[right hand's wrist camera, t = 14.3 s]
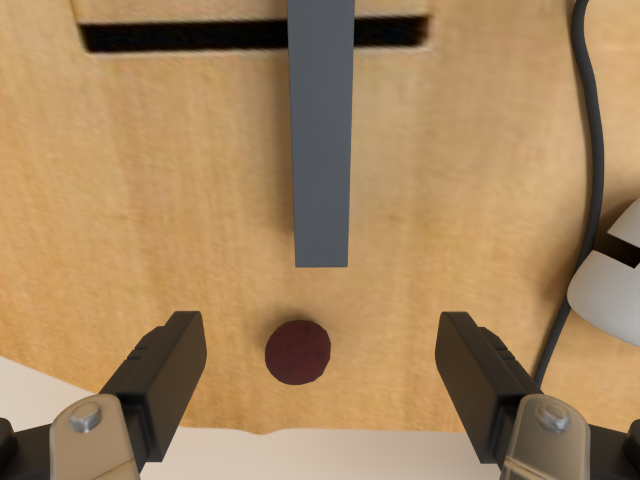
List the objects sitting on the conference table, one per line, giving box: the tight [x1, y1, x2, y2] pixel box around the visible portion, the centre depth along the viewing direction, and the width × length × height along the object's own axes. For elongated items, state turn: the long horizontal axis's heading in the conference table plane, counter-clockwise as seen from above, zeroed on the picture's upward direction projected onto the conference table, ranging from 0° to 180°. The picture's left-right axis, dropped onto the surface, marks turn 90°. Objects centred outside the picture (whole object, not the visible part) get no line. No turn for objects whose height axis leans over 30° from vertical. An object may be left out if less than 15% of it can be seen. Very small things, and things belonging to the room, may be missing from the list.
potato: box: [265, 320, 331, 385], centre depth 39 cm, size 7×8×7 cm
